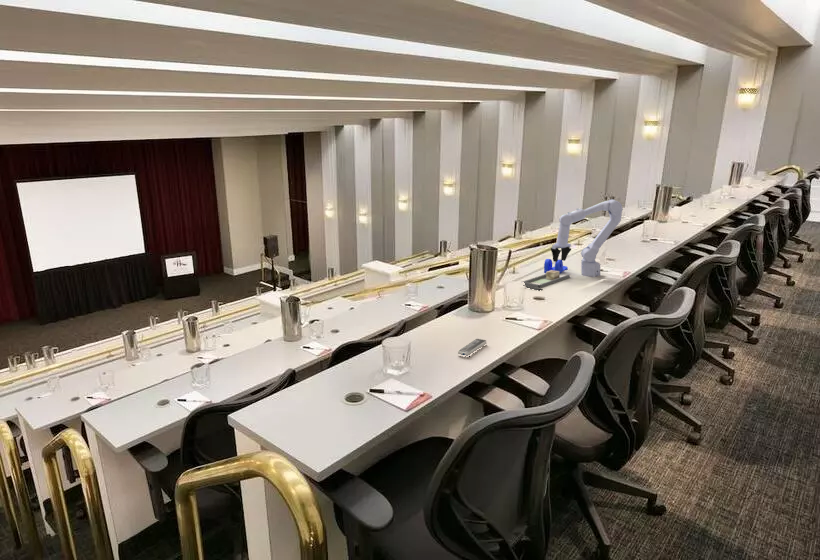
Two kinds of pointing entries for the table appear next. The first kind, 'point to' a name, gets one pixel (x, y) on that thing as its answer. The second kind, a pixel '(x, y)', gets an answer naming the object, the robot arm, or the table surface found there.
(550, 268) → the bracket
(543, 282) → the box
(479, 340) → the multiport hub
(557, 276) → the block
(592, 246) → the robot arm
